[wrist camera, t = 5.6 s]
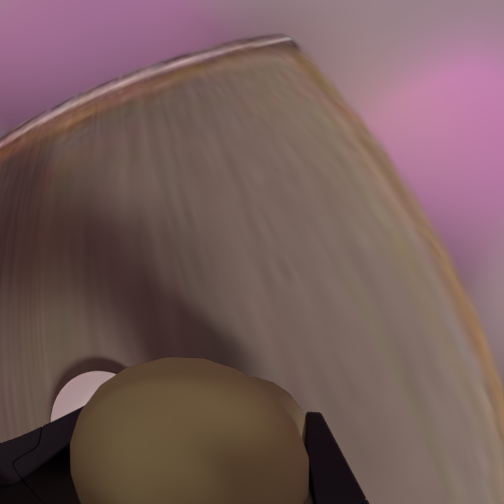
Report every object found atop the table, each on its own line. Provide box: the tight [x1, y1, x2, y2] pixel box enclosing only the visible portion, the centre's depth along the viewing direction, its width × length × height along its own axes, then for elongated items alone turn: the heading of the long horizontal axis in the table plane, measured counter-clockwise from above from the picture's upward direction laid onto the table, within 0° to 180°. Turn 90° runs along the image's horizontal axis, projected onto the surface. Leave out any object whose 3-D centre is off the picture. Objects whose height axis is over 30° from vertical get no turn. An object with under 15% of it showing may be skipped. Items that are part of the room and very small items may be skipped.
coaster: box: [51, 371, 116, 422], centre depth 17 cm, size 9×9×1 cm
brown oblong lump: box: [70, 357, 309, 504], centre depth 9 cm, size 6×6×11 cm
